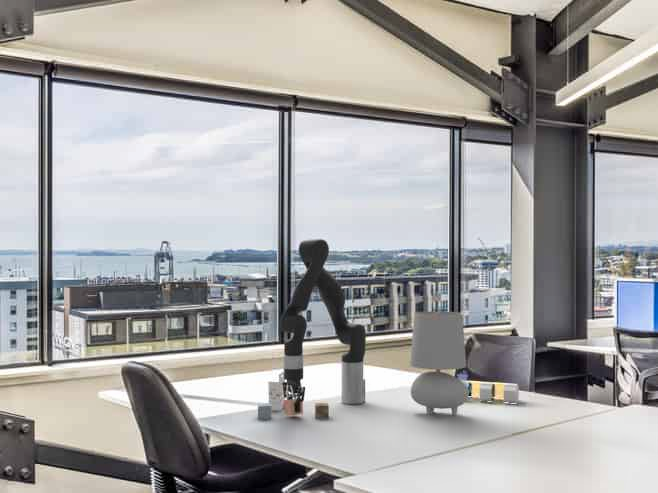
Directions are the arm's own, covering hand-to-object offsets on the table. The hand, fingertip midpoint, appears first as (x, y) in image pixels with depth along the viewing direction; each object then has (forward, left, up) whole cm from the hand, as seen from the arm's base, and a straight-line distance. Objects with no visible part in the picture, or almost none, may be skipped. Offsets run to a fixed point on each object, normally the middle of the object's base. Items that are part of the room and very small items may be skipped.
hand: (293, 410), depth 279 cm
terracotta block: (0, 0, -1) cm, 1 cm away
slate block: (+10, -5, -3) cm, 11 cm away
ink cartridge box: (-2, -17, -3) cm, 17 cm away
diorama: (-86, +16, -3) cm, 88 cm away
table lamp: (-51, +26, -3) cm, 57 cm away
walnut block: (-9, +6, -3) cm, 11 cm away
